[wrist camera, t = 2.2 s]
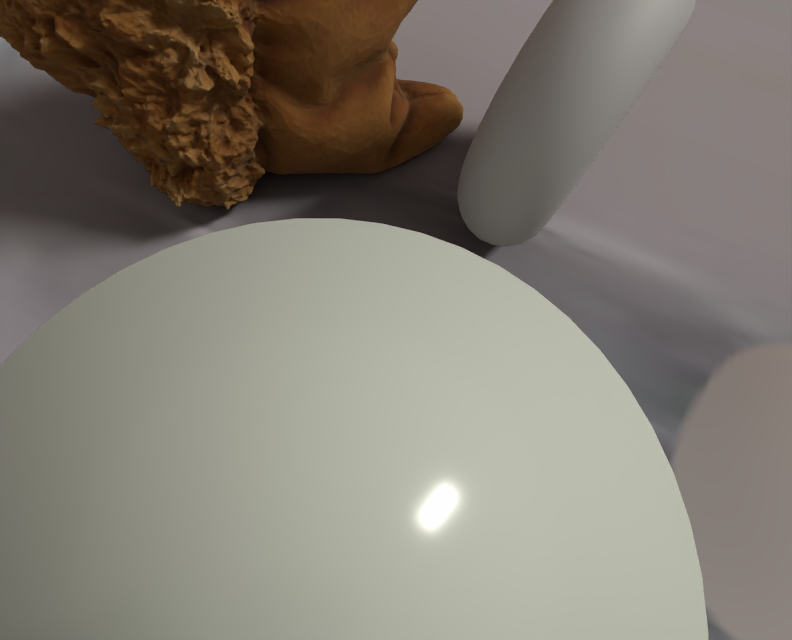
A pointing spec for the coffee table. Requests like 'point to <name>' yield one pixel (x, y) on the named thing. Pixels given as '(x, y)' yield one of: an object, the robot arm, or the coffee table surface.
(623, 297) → the coffee table surface
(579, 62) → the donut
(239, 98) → the stuffed squirrel
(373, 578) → the pale green faceted cylinder
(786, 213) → the coffee table surface
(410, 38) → the coffee table surface
